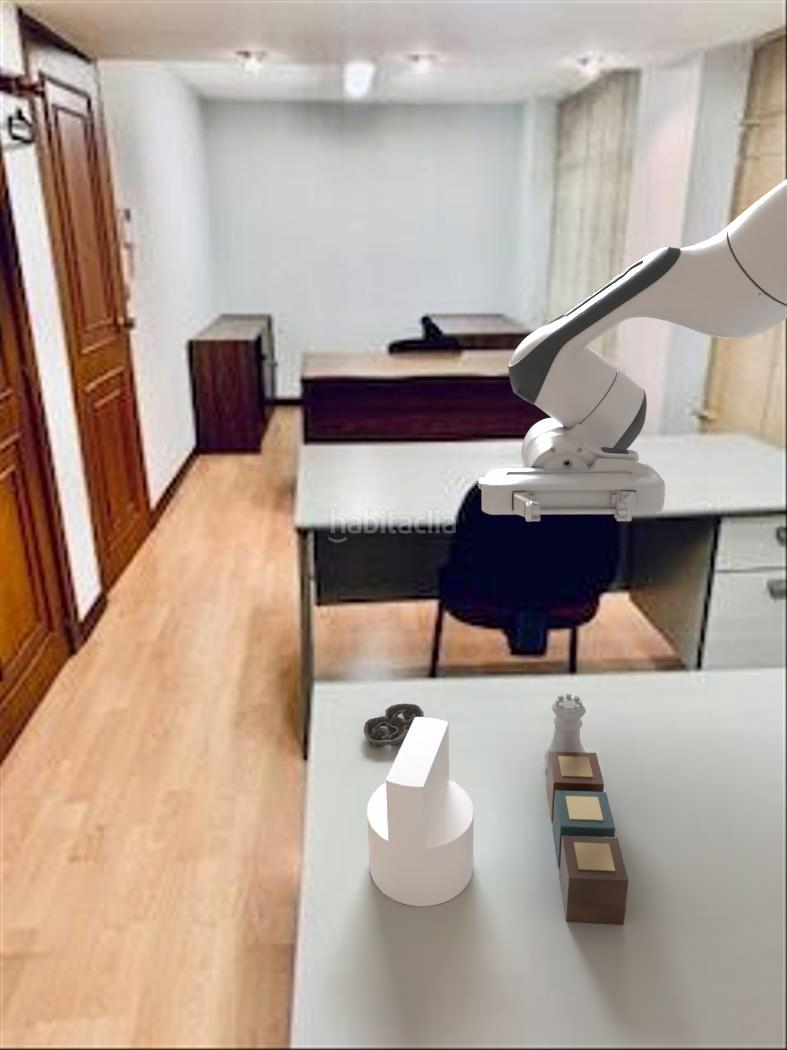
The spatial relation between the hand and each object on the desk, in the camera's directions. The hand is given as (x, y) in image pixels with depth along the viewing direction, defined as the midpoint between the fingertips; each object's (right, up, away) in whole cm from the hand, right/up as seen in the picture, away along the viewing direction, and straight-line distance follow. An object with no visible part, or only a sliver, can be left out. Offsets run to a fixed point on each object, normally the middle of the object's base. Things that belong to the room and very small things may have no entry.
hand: (579, 514), depth 80 cm
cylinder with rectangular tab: (-17, -31, -14) cm, 38 cm away
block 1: (-2, -28, -8) cm, 29 cm away
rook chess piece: (-2, -26, -2) cm, 26 cm away
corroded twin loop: (-19, -24, +4) cm, 31 cm away
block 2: (-3, -32, -18) cm, 37 cm away
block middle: (-3, -30, -13) cm, 33 cm away
